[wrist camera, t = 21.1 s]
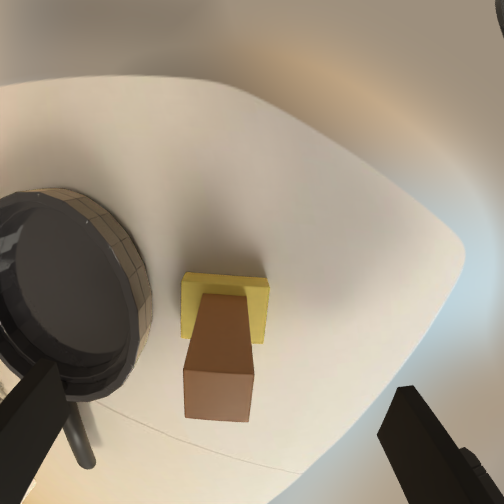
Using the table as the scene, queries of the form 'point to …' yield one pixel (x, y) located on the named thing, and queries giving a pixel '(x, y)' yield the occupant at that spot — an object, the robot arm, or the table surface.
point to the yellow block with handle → (221, 343)
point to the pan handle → (78, 436)
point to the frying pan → (70, 291)
